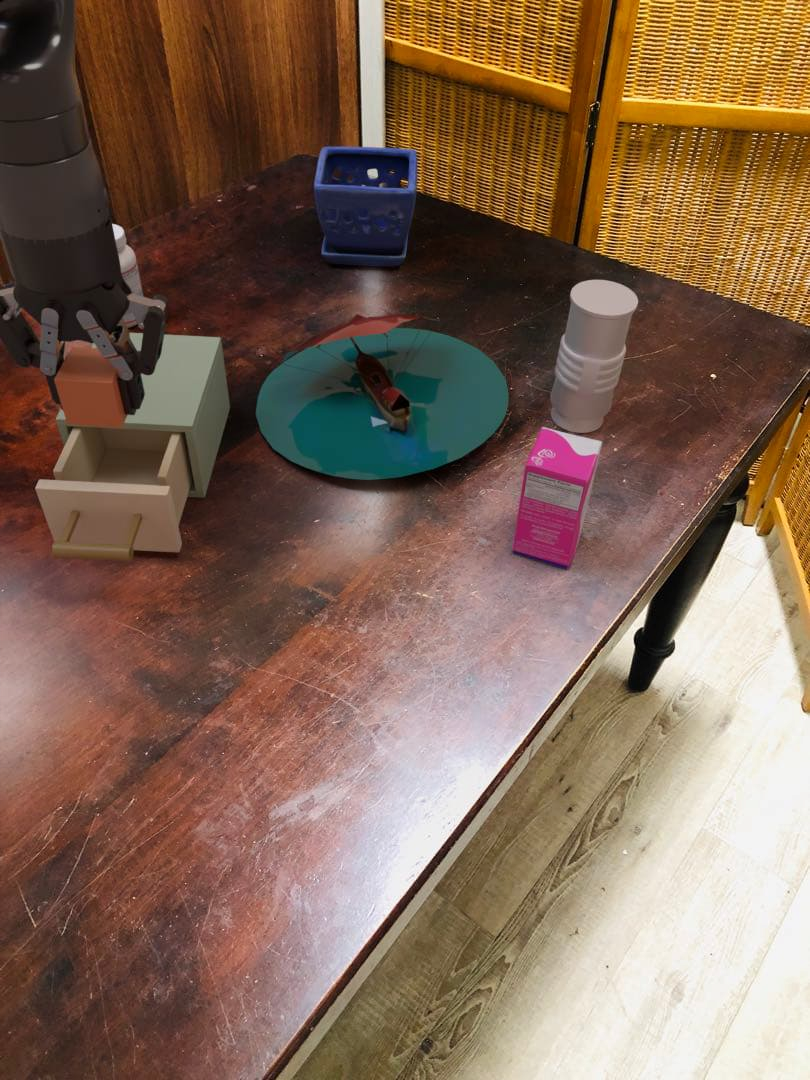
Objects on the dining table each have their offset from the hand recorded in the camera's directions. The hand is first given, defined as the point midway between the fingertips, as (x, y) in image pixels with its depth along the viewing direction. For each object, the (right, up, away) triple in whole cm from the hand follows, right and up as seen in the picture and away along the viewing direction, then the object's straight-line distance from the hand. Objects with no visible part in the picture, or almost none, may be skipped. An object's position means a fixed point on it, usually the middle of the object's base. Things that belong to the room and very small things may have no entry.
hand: (101, 406), depth 73 cm
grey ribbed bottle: (+44, +3, +26) cm, 52 cm away
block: (0, 0, 0) cm, 0 cm away
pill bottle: (-10, +16, +36) cm, 41 cm away
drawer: (-1, -9, +11) cm, 14 cm away
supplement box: (+39, -11, +12) cm, 42 cm away
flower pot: (+20, +29, +50) cm, 61 cm away
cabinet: (-1, -1, +19) cm, 20 cm away
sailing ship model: (+23, +4, +26) cm, 34 cm away
